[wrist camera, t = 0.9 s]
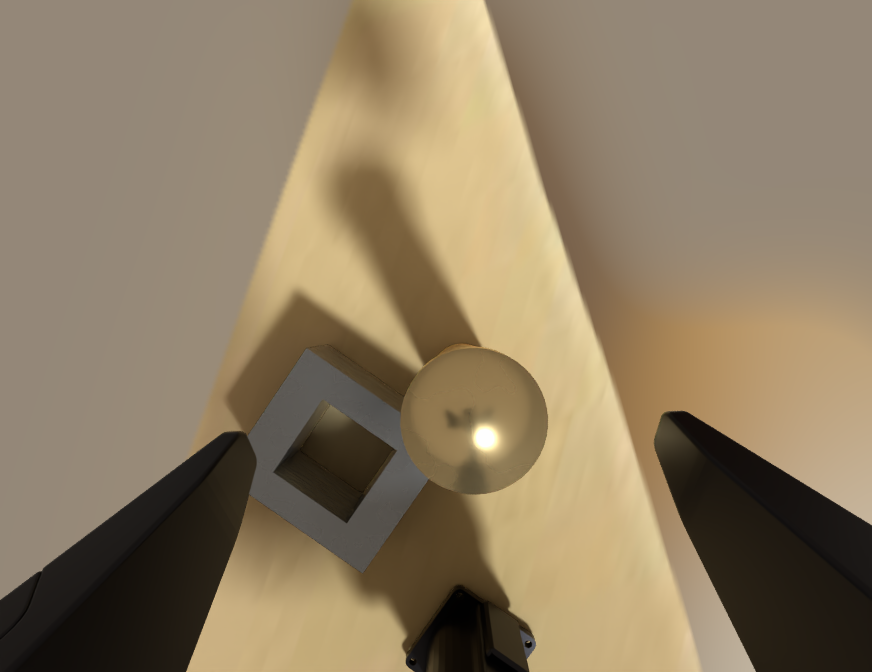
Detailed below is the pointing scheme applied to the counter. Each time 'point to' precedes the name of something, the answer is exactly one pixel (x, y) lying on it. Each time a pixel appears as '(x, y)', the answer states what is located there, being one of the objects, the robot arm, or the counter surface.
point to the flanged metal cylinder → (473, 420)
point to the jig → (316, 486)
